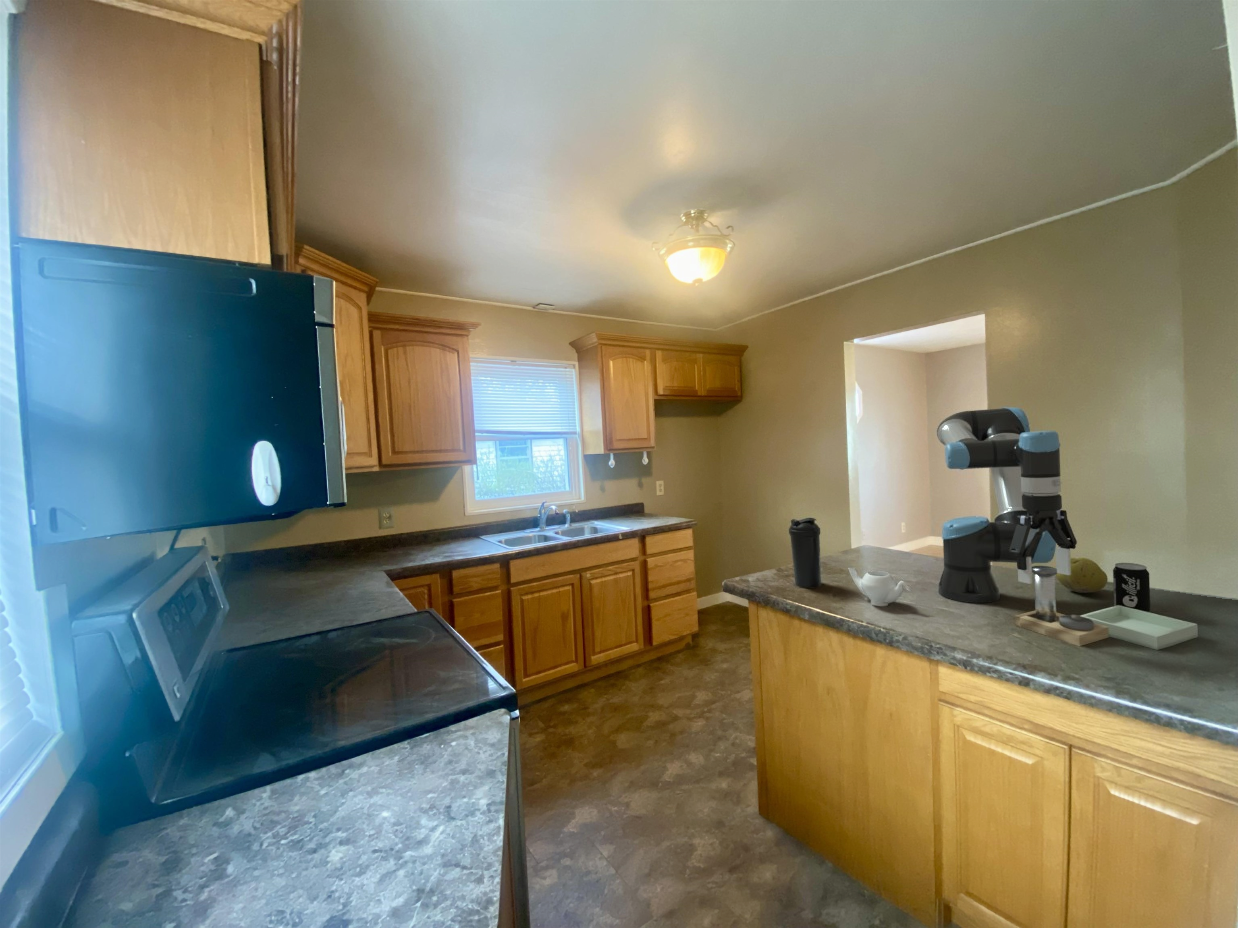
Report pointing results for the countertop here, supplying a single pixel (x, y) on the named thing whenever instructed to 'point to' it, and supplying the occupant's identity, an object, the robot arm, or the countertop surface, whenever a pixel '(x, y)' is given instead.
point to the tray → (1143, 627)
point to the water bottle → (806, 552)
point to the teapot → (878, 586)
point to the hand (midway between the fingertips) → (1044, 578)
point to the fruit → (1083, 576)
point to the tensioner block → (1064, 628)
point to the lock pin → (1045, 593)
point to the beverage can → (1131, 586)
